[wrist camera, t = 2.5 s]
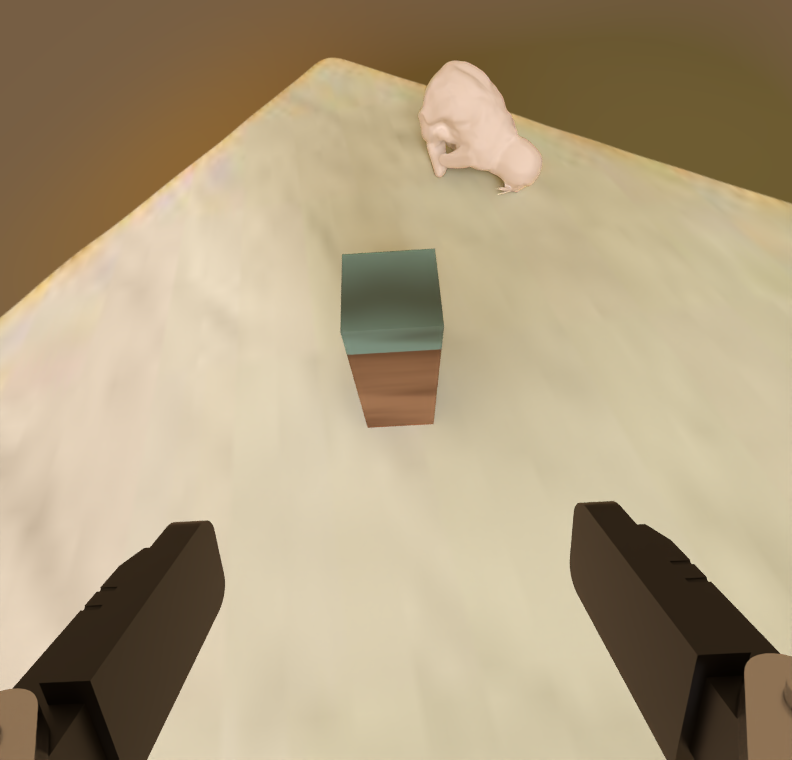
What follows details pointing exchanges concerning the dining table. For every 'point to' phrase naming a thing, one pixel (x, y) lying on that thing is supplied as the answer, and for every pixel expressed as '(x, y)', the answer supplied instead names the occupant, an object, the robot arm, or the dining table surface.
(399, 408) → the green and brown block
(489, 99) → the pink animal figurine
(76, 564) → the dining table surface
